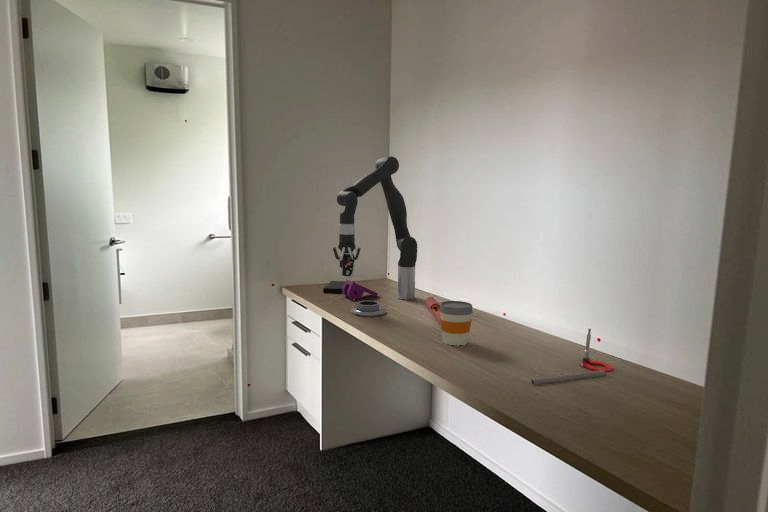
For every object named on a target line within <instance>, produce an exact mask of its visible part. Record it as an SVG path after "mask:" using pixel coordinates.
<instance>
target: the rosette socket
mask: <svg viewBox="0 0 768 512" xmlns="http://www.w3.org/2000/svg"><path fill="white" fill-rule="evenodd" d="M380 302H381V301H380ZM380 302H379V301H376V300H362V301H357V303H356V306H354V307H352V308H350V313H351V312H352V313H353V314H355V315H354V316H356V315H360V316H359V317H363V316H375V317H380V316H379V315H381V316H383V314H384V315H385V314H386V308H384V307H383V306H381V305H380V304H381V303H380ZM352 313H351V314H352ZM353 314H352V315H353Z"/></svg>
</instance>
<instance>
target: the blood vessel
mask: <svg viewBox="0 0 768 512" xmlns="http://www.w3.org/2000/svg"><path fill="white" fill-rule="evenodd" d="M425 305H426V306H427V308H428V310H429V311H430V312H431V313H432V316H434V318H435V320H436V321H437V322H438V324H439V325H440V317H441V314H440V311H439V310H440V304H439V303H438V302H437V300H436V299H435V298H434V297H432V296H430V297H429V296H428V297H427V298H426V299H425Z"/></svg>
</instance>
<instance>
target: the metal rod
mask: <svg viewBox="0 0 768 512" xmlns="http://www.w3.org/2000/svg"><path fill="white" fill-rule="evenodd" d="M606 374H607V372H605V371H604V370H599V371H593V370H591V371H584V372H575V373H571V374H570V373H568V374H563V375H555V376H546V377H539V378H532V379H531V380H530V383H531V385H533V386H537V385H538V386H539V385H546V384H553V383H554V384H555V383H561V382H569V381H574V380H575V381H576V380H583V379H584V380H585V379H592V378H599V377H605V376H606Z"/></svg>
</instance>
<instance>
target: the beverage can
mask: <svg viewBox="0 0 768 512" xmlns="http://www.w3.org/2000/svg"><path fill="white" fill-rule="evenodd" d="M354 257H355V255H354V252H353V253H352V255H351V254H347V253H344V255H343V260H342V261H343V265H342V268H341V277H343V278H345V279H350V278H353V277H354V270H355V260H353V259H354Z"/></svg>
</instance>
